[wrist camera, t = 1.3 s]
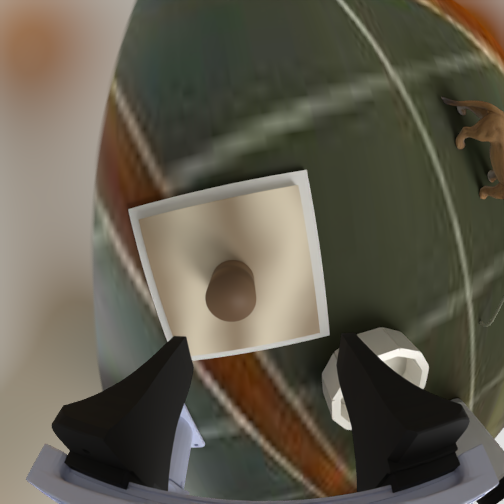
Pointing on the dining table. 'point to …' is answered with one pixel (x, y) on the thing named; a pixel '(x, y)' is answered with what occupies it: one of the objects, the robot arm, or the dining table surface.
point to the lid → (234, 271)
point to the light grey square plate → (228, 192)
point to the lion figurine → (485, 139)
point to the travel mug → (498, 458)
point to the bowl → (390, 352)
